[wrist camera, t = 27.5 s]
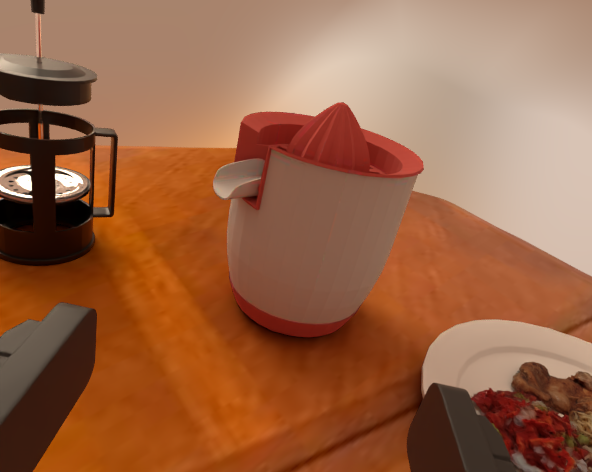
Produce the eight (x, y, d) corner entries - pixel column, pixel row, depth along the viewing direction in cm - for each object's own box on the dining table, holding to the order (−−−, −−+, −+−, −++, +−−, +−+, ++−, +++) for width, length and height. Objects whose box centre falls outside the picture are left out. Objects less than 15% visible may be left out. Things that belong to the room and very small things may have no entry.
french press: (-25, 269, 40) (-56, -29, 30) (-19, 220, 47) (-42, -36, 37) (118, 261, 46) (133, 9, 36) (105, 218, 53) (114, -2, 43)
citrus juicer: (177, 265, 47) (201, 64, 38) (320, 257, 56) (367, 91, 47) (224, 373, 35) (275, 118, 27) (397, 343, 44) (479, 141, 35)
